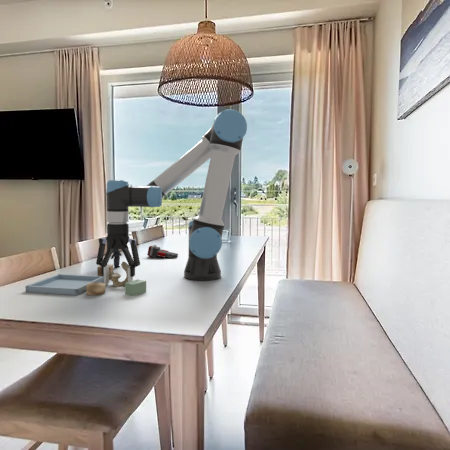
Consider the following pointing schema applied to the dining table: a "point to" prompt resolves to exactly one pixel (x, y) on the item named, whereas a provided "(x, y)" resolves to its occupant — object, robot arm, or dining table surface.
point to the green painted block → (135, 287)
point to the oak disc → (95, 288)
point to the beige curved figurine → (116, 276)
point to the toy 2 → (160, 252)
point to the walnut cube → (99, 270)
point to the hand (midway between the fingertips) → (118, 284)
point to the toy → (115, 256)
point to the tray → (64, 284)
